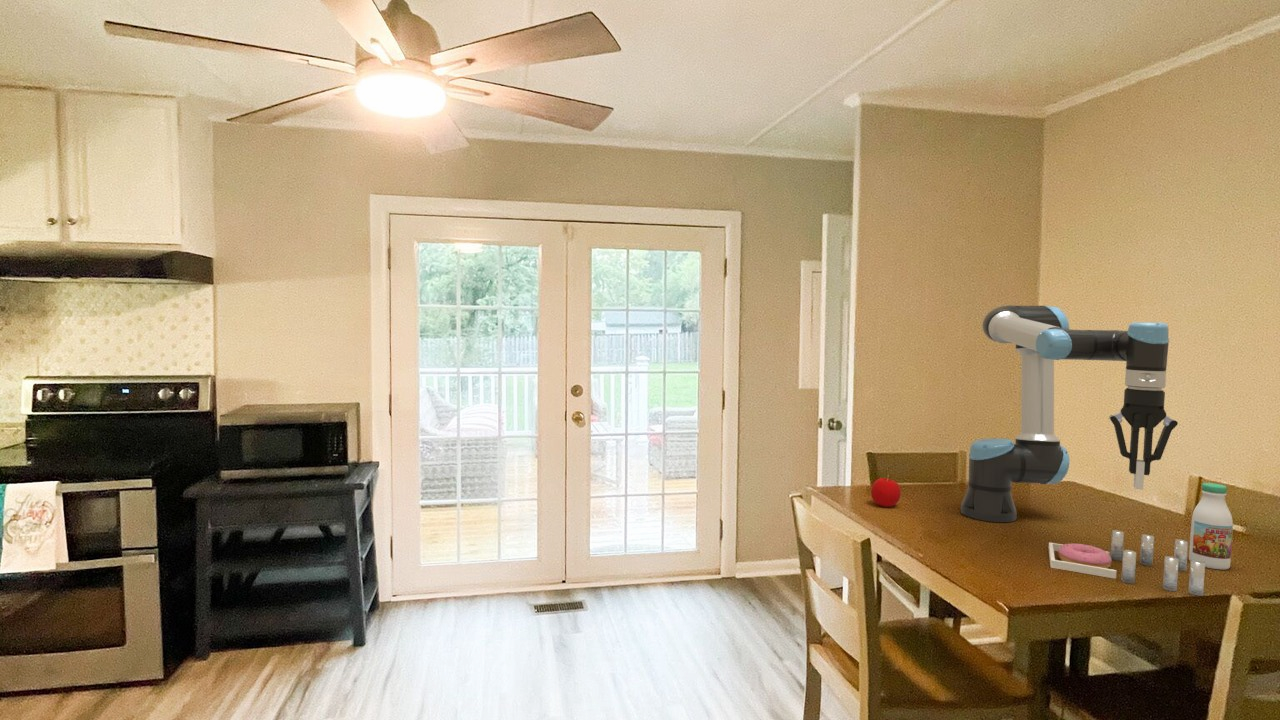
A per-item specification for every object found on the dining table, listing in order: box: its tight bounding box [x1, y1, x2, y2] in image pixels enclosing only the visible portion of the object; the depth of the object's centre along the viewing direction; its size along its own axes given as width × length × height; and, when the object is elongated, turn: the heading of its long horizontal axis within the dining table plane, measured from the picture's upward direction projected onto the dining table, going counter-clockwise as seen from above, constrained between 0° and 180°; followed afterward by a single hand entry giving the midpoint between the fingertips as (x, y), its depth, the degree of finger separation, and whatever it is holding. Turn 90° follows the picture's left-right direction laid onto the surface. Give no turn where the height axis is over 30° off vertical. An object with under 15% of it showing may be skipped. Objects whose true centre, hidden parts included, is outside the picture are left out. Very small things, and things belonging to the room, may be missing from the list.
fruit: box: [870, 474, 902, 508], centre depth 210 cm, size 9×9×10 cm
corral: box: [1048, 542, 1117, 579], centre depth 161 cm, size 13×16×2 cm
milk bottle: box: [1188, 482, 1234, 571], centre depth 161 cm, size 8×8×20 cm
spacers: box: [1109, 529, 1206, 597], centre depth 154 cm, size 15×19×7 cm
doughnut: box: [1057, 543, 1113, 569], centre depth 160 cm, size 11×11×4 cm
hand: (1138, 487), depth 155 cm, fingers closed
